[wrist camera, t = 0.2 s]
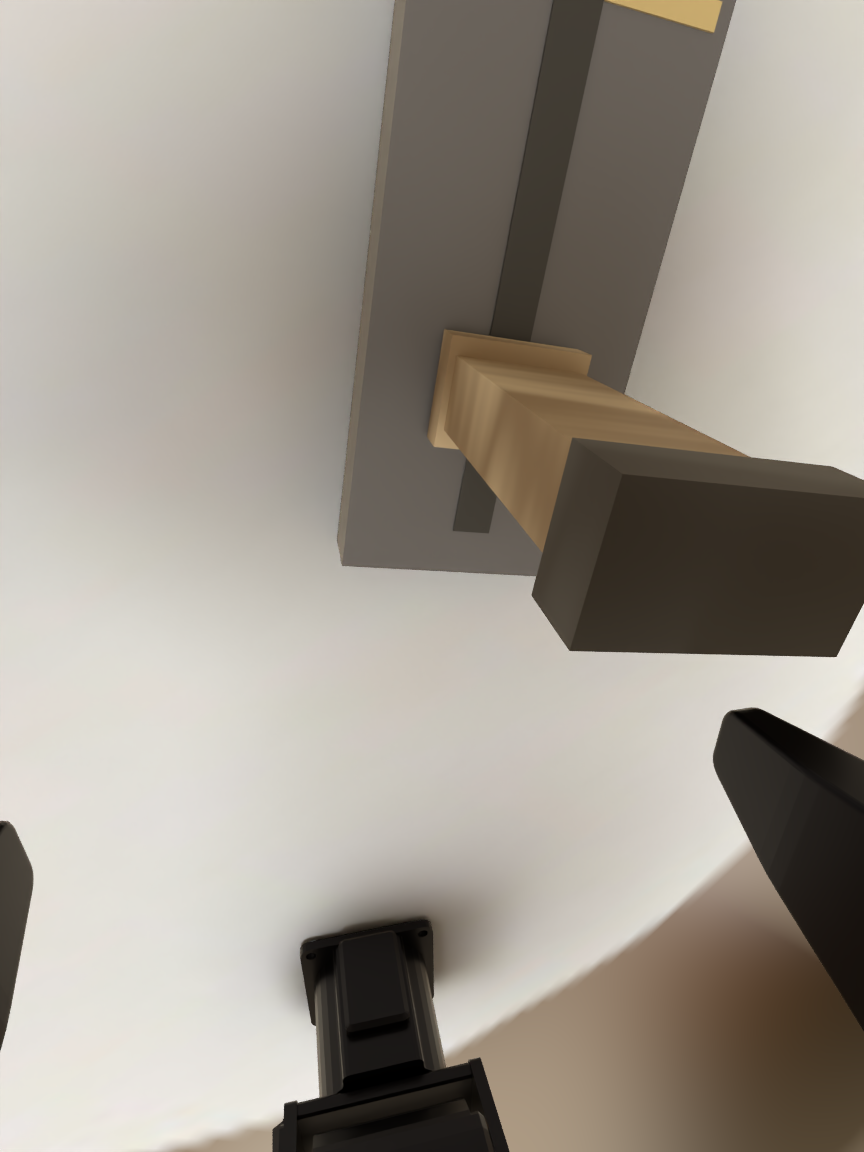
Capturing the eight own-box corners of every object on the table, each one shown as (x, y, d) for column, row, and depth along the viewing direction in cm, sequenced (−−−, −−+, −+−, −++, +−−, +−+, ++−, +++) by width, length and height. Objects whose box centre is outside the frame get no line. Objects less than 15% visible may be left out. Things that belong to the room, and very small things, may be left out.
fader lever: (561, 450, 20) (830, 667, 11) (416, 435, 19) (565, 662, 9) (587, 350, 19) (921, 489, 9) (433, 327, 18) (627, 458, 8)
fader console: (551, 553, 25) (572, 579, 23) (337, 539, 23) (342, 567, 21) (718, -79, 17) (770, -116, 15) (414, -186, 15) (434, -242, 13)
